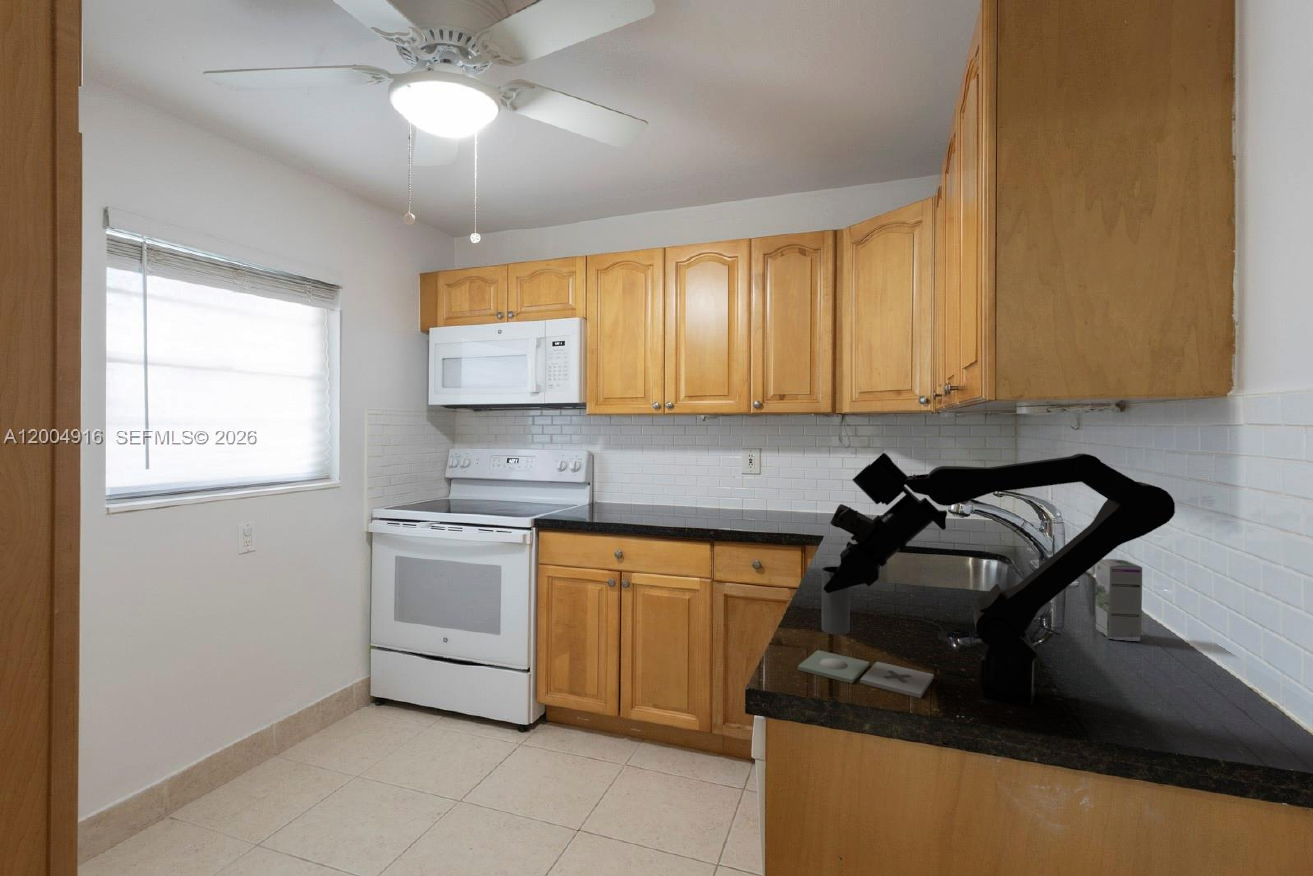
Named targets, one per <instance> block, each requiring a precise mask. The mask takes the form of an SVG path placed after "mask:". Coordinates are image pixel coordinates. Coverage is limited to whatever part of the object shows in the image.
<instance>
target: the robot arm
mask: <svg viewBox="0 0 1313 876" xmlns="http://www.w3.org/2000/svg"><path fill="white" fill-rule="evenodd" d="M852 482H853V483H855V485H856V486H858V488H860V489H861V491H863V493H865V495H866V496H868V498H869V499H870V500H871V501H872V502H874V503H875V505H879V504H880V503H881V504H882V505H884V504H885V506H889V504H891V503H892V502H893V501H894V500H896V499H897V498H898V496H900V495H901V494H902V493H904V496H902V498H900V499H899V500H898V501H897V502H895V503H894V504H893V505H892V506H891V507H890V508H889V509H887V511H886V512H884V513H883V514H882V515H879V514H878V515H876V517H874V518H873V519H872V518H871V517H869V516H867V515H865V514H863V513H861V512H859V511H858V510H856V509H853V508H852V507H851V506H850V507H849V506H847V505H845V504H843V503H842V504H839V505H837V508H836V510H835V512H834V513H833V514H834V515H833V516H832V518H831V521H830V522H829V523H830V525H831V526H833V527H835V528H840V529H841V530H844V531H845V532H846V533H849V534H850V535H851V534H852V536H851V537H850V540H852V541H855V542H854V543H853V542H851V541H847V543H846V546H845V547H846V548H844V549H843V550H842V551H841V552H840V554H839V558H840V564H839V565H838V567H839V568H838V569H837V571H836V572H835V573H834V575H833V576H832V577H831V579H830V580H829V581H828V582H827V584H826V585H825V586H824V588H823V589H824V590H825V591H826V592H827V593H831V592H834V591H838V590H841V589H845V588H849V587H850V588H851V587H856V586H859V585H863V584H864V585H866V586H868V587H870V586H872V585H873V584H874V583H875V582H877V580H879V578H880V575H881V567H884V566H885V565H887V562H888V560H889V559H890V558H892V557H893V556H894V555H896V553H897V552H899V551H902V550H904V549H905V548H906V547H907V544H908V543H909V542H911V541H912V540H913V539H914V538H915V537H917V536H918V535H919V533H921V532H922V531H923V530H925V529H926V528H927V527H929V526H930V525H931V524H932V523H934V524H936V526H938V528H940V530H946V529H947V526H946V519H947V516H948V511H947V510H945V509H944V510H941V509H940V510H939V509H938V508H937V507H936V506H934V504H933V503H931V502H930V501H929V500H928V499H927V497H929V499H930V500H931V501H932V502H934V503H935V504H937V505H940V506H946V507H947V506H948V507H949V506H954V505H958V504H961V503H965V502H968V501H971V500H975V499H977V498H981V497H983V496H986V495H990V494H993V493H998V492H1008V491H1015V490H1023V489H1032V488H1041V487H1049V486H1057V485H1065V484H1074V483H1083V484H1085V485H1086V486H1087V487H1088V488H1090V489H1092V490H1093V491H1094V492H1096V493H1098V494H1099V495H1101V496H1102V497H1105V498H1106V500H1105V502H1104V503H1103V504H1102V505H1101V508H1099V511H1098V513H1097V514H1096V516H1095V517H1094V519H1093V521H1092V522H1091V523H1090V524H1089V525H1088V526H1086V527H1085V528H1084V529H1083V530H1082V531H1080V532H1079V533H1078V534H1077V535H1076V536H1074V537H1073V538H1072V539H1071V540H1070V541H1069V542H1068V543H1066V544H1065V545H1064V546H1062V547H1061V548H1060V549H1059V550H1057V552H1055V553H1054V554H1053V555H1052V556H1050V557H1049V558H1048V559H1046V561H1045V562H1043V563H1042V564H1041V565H1040V566H1039V567H1037V568H1036V569H1035V570H1034V571H1033V572H1032V571H1031V572H1030V574H1029V575H1027V576H1026V577H1025V578H1024V579H1022V580H1021V581H1020V582H1019V583H1018V584H1016V585H1014V586H1012V587H1008V588H1007V589H1004V590H1003V589H1002V587H1001V586H1000V584H998V583H995V584H994V585H993V586H992V587H991V588H990V589H989V592H987V593H986V594H985V595H983V596H981V597H978V598H976V601H977V605H976V606H975V607H974V610H973V623H974V627H975V632H976V634H977V636H978V638H979V639H980V640H981V642H982V643H984V644H986V645H987V648H986V650H985V652H984V655H983V656H982V657H981V659H980V672H979V673H980V675H979V686H980V687H981V688H982V690H981V695H983V696H985V697H989V698H992V699H993V698H995V699H997V700H1003V701H1006V702H1007V701H1008V702H1009V703H1010V702H1011V703H1015V704H1020V705H1023V706H1027V707H1031V706H1032V705H1033V701H1034V697H1035V693H1036V688H1034V679H1035V678H1034V676H1035V675H1034V674H1035V673H1034V672H1035V658H1036V656H1037V651H1036V650H1035V647H1034V646H1033V643H1032V641H1031V639H1030V637H1029V635H1028V633H1027V632H1026V631H1027V630H1028V629H1029V628H1030V626H1031V624H1032V623H1033V621H1034V619H1035V618H1036V616H1037V614H1038V612H1039V611H1040V610H1041V609H1042V608H1043V607H1044V606H1046V605H1047V604H1048V603H1049V602H1051V601H1052V600H1053V599H1054V598H1055V597H1057V596H1058V595H1059V594H1060V593H1062V592H1063V591H1064V590H1065V589H1066V588H1068V587H1069V586H1070V585H1071V584H1072V583H1074V582H1075V581H1076V580H1078V579H1079V578H1080V577H1081V576H1083V575H1084V574H1085V573H1086V572H1088V571H1089V570H1090V569H1092V568H1093V567H1094V566H1095V565H1096V563H1097V562H1099V561H1100V560H1101V559H1104V558H1105V557H1106V556H1108V555H1109V554H1110V553H1112V552H1113V551H1114V550H1115V549H1116V548H1118V547H1120V545H1123V544H1124V543H1127V542H1130V541H1133V540H1135V539H1138V538H1141V537H1144V536H1146V535H1147V534H1149V533H1151V532H1153V531H1154V530H1156V529H1158V528H1160V527H1162V526H1164V525H1166V524H1167V523H1169V522H1170V520H1171V519H1173V517H1174V515H1175V514H1176V508H1175V507H1176V505H1175V501H1174V499H1173V497H1172V495H1171V494H1170V493H1169V492H1168V491H1167V490H1165V489H1163V488H1161V487H1159V486H1156V485H1153V484H1149V483H1147V482H1142V481H1135V480H1134V479H1132V478H1130V477H1128V476H1127V475H1125V474H1123V473H1121V472H1119V471H1118V470H1116V469H1114V468H1112V467H1110V466H1108V464H1106V463H1105V462H1102V461H1101V459H1099V458H1098V457H1096V456H1094V455H1093V454H1088V453H1076V454H1073V455H1070V456H1065V457H1063V456H1062V457H1055V458H1048V459H1042V460H1041V459H1040V460H1033V461H1028V462H1025V461H1024V462H1019V463H1017V462H1016V463H1013V464H1012V463H1010V464H1004V465H997V466H989V467H987V466H985V467H980V466H966V465H962V466H961V465H960V466H959V465H958V466H957V465H942V466H938V467H934V468H933V469H932V470H930V472H929V473H924V474H915V473H914V474H912V475H907V474H906V473H905V472H904V471H902V470H901V468H899V467H898V466H897V464H895V462H893V460H892V458H891V457H890V456H889V455H888V454H887V453H886V452H883V453H881V454H880V455H879V456H878V457H877V458H876V459H875V460H873V462H872V463H871V464H868V465H866V466H865V467H864V468H863V469H862V470H860V472H859V473H858V474H856V476H854V477H853V478H852ZM907 487H908V488H907ZM909 489H910V490H911V491H912V492H913V493H914V494H913V493H912V492H911V491H910V490H909ZM915 494H919V495H924V496H927V497H923V498H922V499H921V500H920V499H919V498H918V497H917V496H916V495H915Z"/></svg>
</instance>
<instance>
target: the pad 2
mask: <svg viewBox="0 0 1313 876" xmlns="http://www.w3.org/2000/svg"><path fill="white" fill-rule="evenodd" d="M934 678H935V674H933V673H928V672H925V671H921V670H917V669H911V668H907V667H903V666H899V665H894V664H889V663H885V662H881V661H876V662H875V663H873V665H872V666H871V667H870V668H869V669H868V670H867V671H866V673H865V674H863V676H861V678H860V679H859V683H860V684H862V683H863V685H867V686H872V687H874V688H879V689H883V690H887V691H890V692H894V693H898V694H903V695H905V696H906V695H908V696H911V697H915V698H918V699H922V696H923V695H924V694H925V692H926V691H927V689H928V688H929V686H930V684H931V683H932V681H933V680H934Z"/></svg>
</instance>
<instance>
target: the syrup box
mask: <svg viewBox="0 0 1313 876" xmlns="http://www.w3.org/2000/svg"><path fill="white" fill-rule="evenodd" d="M1095 565H1096V566H1095V568H1096V569H1095V607H1094V608H1095V612H1094V613H1095V615H1094V622H1095V623H1094V629H1095V628H1096V629H1097V630H1099V631H1100V632H1103V633H1104V634H1105V635H1106V636H1108V637H1109V636H1110V637H1131V638H1132V637H1141V638H1142V613H1143V612H1142V609H1143V608H1142V607H1143V606H1142V605H1143V602H1142V601H1143V567H1142V566H1140V565H1138V564H1135V563H1133V562H1131V561H1128V560H1124V559H1115V558H1113V559H1112V558H1110V559H1109V558H1105V559H1104V558H1102V559H1101V560H1100V561H1099V562H1097V563H1096V564H1095Z"/></svg>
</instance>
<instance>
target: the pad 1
mask: <svg viewBox="0 0 1313 876" xmlns="http://www.w3.org/2000/svg"><path fill="white" fill-rule="evenodd" d="M869 666H870V661H866V660H863V659H858V658H854V657H850V656H845V655H840V654H836V653H832V652H828V651H825V650H824V651H823V650H819V649H818V650H817V649H816V651H815V652H814V653H812V654H811V655H810V656H808V657H807V658H806V659H805V660H803V661H802V662H801V663H800V664H798V665H797V670H798V671H801V672H805V673H809V674H811V675H812V674H813V675H816V676H817V675H818V676H820V677H824V678H829V679H833V680H837V681H841V682H844V683H848V682H849V684H853V683H854V682H855V681H856V680H857V679H858V678H859V677H860V675H862V674H863V672H864V671H865V670H866V669H868V667H869ZM856 678H857V679H856ZM855 679H856V680H855Z"/></svg>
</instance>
